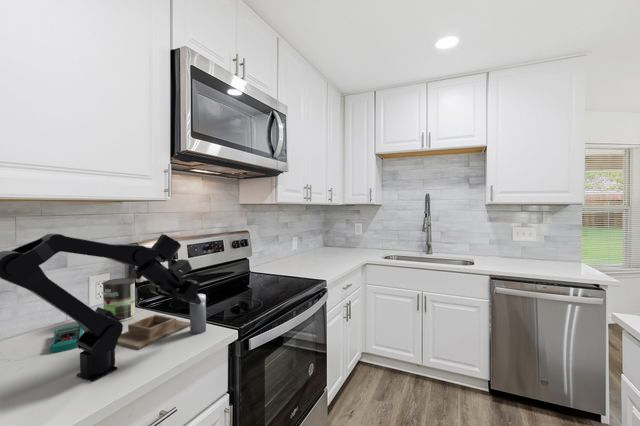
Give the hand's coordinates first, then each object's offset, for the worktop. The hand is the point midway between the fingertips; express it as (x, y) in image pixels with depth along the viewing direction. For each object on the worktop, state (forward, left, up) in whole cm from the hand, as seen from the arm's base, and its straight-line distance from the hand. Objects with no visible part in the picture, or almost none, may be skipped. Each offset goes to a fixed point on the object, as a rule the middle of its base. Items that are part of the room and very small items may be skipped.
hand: (190, 300), depth 103 cm
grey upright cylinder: (+3, 0, -11) cm, 11 cm away
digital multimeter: (-19, +32, -12) cm, 39 cm away
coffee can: (+1, +37, -11) cm, 38 cm away
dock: (-4, +13, -11) cm, 17 cm away
